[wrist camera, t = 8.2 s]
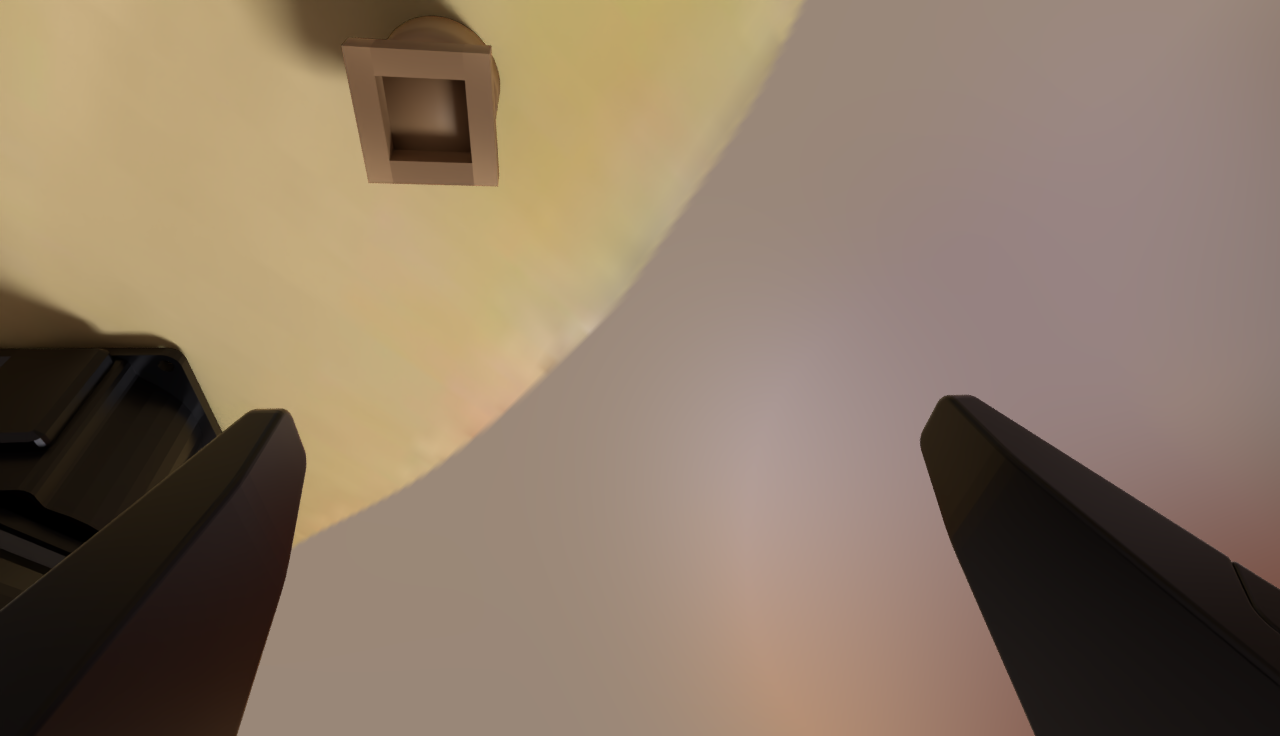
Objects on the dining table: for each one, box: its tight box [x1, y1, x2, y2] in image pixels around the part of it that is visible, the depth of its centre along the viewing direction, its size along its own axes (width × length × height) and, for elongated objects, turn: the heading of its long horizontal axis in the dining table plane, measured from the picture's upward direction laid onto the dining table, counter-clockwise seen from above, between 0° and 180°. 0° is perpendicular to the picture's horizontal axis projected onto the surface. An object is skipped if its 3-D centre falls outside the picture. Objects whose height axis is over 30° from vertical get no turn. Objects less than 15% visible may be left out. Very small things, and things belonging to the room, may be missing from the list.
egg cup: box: [341, 16, 500, 186], centre depth 17 cm, size 3×3×3 cm
